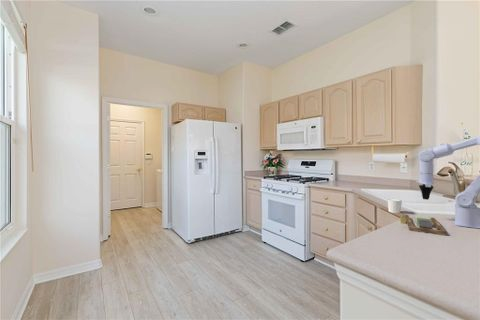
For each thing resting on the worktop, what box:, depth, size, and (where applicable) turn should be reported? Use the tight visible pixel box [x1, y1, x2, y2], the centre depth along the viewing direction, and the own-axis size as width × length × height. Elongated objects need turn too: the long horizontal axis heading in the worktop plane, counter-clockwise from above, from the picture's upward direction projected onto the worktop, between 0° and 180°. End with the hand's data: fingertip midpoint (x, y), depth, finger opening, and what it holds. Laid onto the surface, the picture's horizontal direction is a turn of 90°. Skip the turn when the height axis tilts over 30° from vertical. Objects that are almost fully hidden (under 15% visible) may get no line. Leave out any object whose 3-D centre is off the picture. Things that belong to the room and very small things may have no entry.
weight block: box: [418, 220, 433, 229], centre depth 99 cm, size 4×4×4 cm
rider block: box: [414, 214, 431, 227], centre depth 106 cm, size 5×5×4 cm
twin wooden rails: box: [405, 214, 447, 236], centre depth 105 cm, size 12×24×2 cm, turn 148°
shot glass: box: [387, 198, 403, 214], centre depth 130 cm, size 7×7×7 cm
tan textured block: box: [399, 213, 407, 225], centre depth 110 cm, size 2×3×4 cm, turn 148°
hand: (425, 199), depth 117 cm, fingers closed
